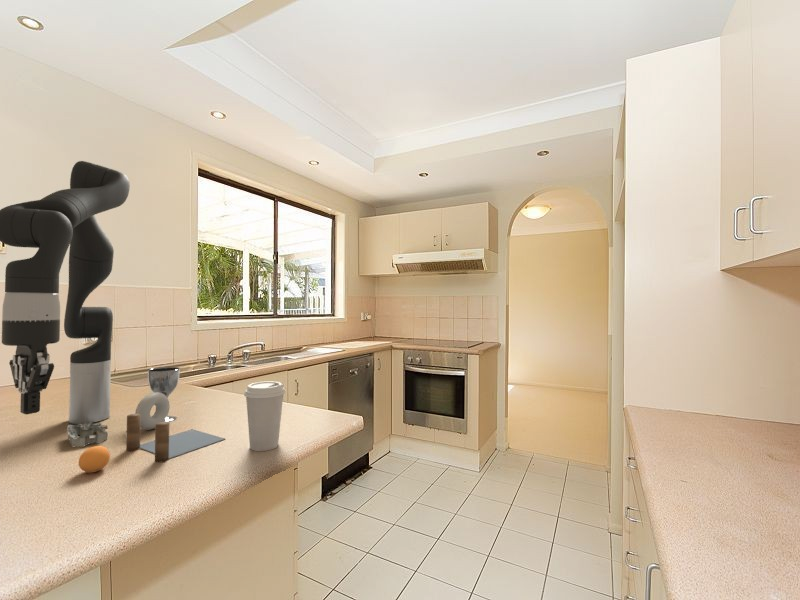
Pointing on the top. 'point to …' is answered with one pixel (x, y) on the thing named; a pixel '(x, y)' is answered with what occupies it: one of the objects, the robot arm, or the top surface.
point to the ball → (94, 459)
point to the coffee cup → (264, 414)
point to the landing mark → (184, 442)
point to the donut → (145, 408)
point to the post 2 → (161, 441)
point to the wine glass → (164, 382)
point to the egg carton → (86, 433)
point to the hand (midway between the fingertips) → (30, 412)
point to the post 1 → (133, 432)
